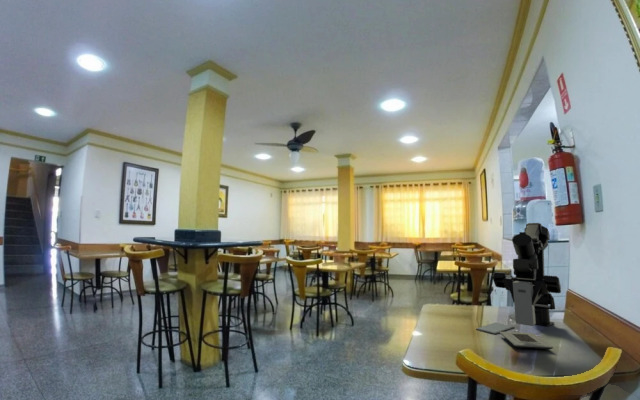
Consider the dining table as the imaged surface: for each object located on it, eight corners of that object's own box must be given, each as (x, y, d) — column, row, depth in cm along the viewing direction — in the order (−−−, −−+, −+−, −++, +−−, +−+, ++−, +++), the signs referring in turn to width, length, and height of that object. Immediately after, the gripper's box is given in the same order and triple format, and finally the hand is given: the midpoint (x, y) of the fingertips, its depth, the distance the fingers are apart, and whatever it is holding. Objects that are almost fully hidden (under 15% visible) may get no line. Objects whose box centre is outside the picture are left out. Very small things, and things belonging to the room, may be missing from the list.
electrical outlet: (553, 354, 93) (553, 345, 93) (515, 351, 95) (514, 343, 95) (533, 339, 106) (532, 332, 106) (499, 337, 108) (499, 330, 108)
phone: (495, 325, 123) (495, 322, 123) (514, 329, 117) (514, 326, 117) (476, 331, 115) (475, 328, 116) (495, 336, 110) (495, 333, 110)
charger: (518, 320, 103) (515, 280, 104) (535, 323, 100) (532, 282, 101) (515, 323, 100) (512, 282, 101) (533, 326, 96) (530, 283, 98)
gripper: (491, 249, 111) (485, 284, 102) (556, 250, 99) (555, 291, 90) (498, 269, 116) (493, 304, 107) (561, 273, 104) (561, 313, 94)
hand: (523, 303), depth 99 cm, fingers closed on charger, 5 cm apart
